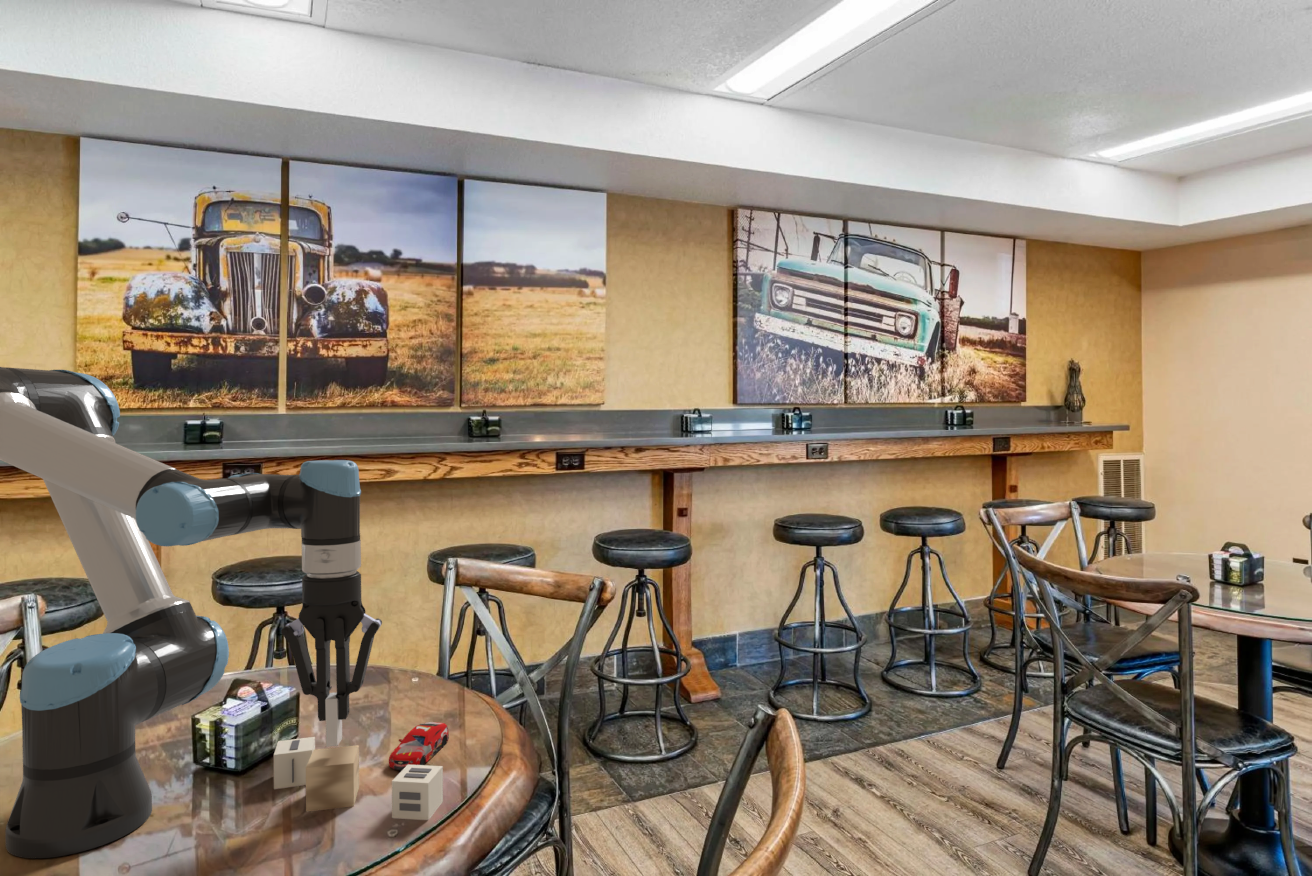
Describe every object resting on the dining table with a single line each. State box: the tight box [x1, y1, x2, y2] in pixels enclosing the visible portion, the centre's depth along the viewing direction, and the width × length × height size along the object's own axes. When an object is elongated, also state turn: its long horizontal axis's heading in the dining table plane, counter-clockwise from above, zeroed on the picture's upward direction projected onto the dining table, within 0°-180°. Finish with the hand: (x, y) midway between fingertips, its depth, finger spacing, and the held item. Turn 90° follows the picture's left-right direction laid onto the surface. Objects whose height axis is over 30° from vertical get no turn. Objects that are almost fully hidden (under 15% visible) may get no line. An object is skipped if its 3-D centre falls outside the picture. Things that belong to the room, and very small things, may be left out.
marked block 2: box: [391, 764, 444, 821], centre depth 105 cm, size 5×5×5 cm
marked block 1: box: [273, 736, 316, 790], centre depth 113 cm, size 5×6×5 cm
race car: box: [388, 721, 449, 771], centre depth 122 cm, size 13×5×4 cm, turn 170°
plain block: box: [305, 744, 360, 813], centre depth 108 cm, size 6×6×6 cm
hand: (334, 742), depth 108 cm, fingers closed
